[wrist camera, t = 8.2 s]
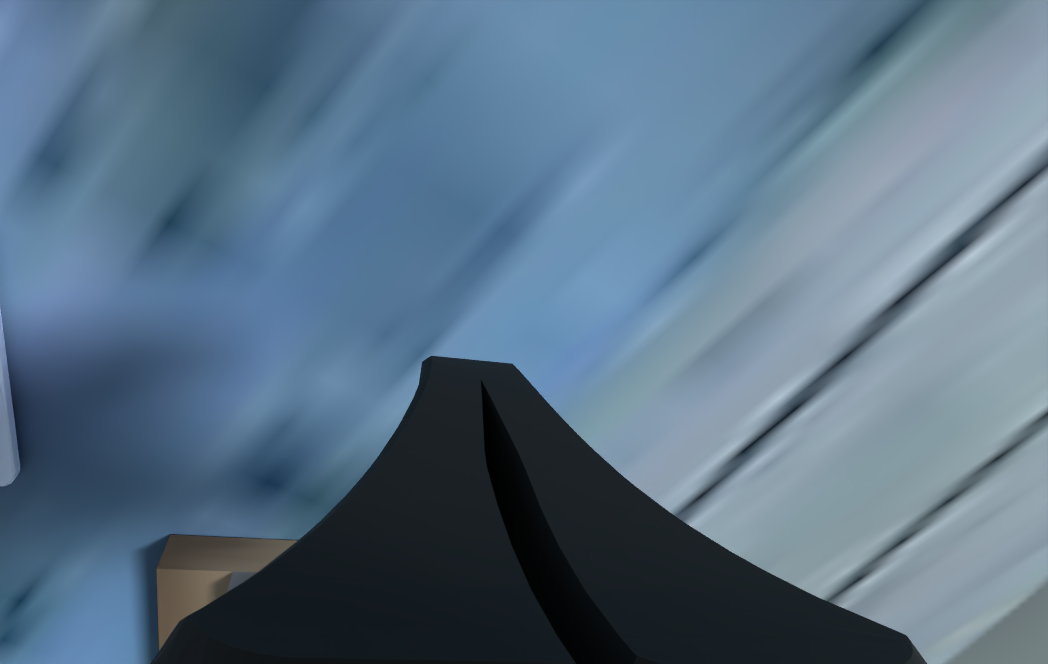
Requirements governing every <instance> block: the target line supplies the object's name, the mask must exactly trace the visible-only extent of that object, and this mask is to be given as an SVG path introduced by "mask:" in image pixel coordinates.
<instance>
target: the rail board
mask: <svg viewBox="0 0 1048 664" xmlns="http://www.w3.org/2000/svg"><path fill="white" fill-rule="evenodd" d="M296 542H297V541H296V540H275V539H254V538H232V537H211V536H190V535H170V537H169V539H168V541H167V544H166V546H165V549H164V551H163V554H162V556H161V559H160V561H159V564H158V566H157V568H156V571H157V601H158V632H159V651H160V649H161V648H162V646H163V645H164V643H165V642H166V640H167V639H168V637H169V635H170V634H171V633H172V631H173V630H174V628H175V627H176V625H177V624H178V622H179V621H180V620H182V619H183V618H185V617H186V616H188V615H190V614H192V613H194V612H195V611H197V610H199V609H201V608H203V607H204V606H206V605H207V604H209V603H211V602H212V601H214V600H215V599H217V598H219V597H220V596H222V595H223V594H225V593H227V592H228V591H230V590H231V589H233V588H235V587H236V586H238V585H239V584H241V583H243V582H244V581H246V580H247V579H249V578H250V577H251V576H253V575H254V574H256V573H257V572H259V571H260V570H261V569H262V568H264V567H265V566H266V565H268V564H269V563H270V562H271V561H273V560H274V559H275V558H276V557H278V556H279V555H280V554H282V553H283V552H284V551H285V550H287V549H288V548H289V547H290V546H292V545H293V544H294V543H296Z"/></svg>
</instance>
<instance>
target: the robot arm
mask: <svg viewBox="0 0 1048 664" xmlns="http://www.w3.org/2000/svg"><path fill="white" fill-rule="evenodd" d="M19 473H20V460H19V452H18V445H17V437H16V429H15V421H14V413H13V405H12V397H11V389H10V381H9V373H8V365H7V357H6V349H5V341H4V333H3V325H2V317H1V309H0V487H1V486H7V485H9V484H11V483H12V482H13V481H14V480H15V478H16V477H17V476H18V474H19ZM151 664H927V663H926V662H925V660H924V659H923V657H922V656H921V655H920V653H919V652H918V650H917V649H916V648H915V646H914V645H913V644H912V642H911V641H910V639H909V638H908V637H907V636H906V635H905V634H902V633H900V632H897V631H895V630H893V629H890V628H888V627H886V626H883V625H881V624H879V623H876V622H874V621H872V620H869V619H867V618H865V617H862V616H860V615H858V614H855V613H853V612H851V611H848V610H846V609H844V608H841V607H839V606H837V605H834V604H832V603H830V602H827V601H825V600H823V599H820V598H818V597H816V596H814V595H812V594H810V593H808V592H806V591H804V590H802V589H800V588H798V587H796V586H794V585H792V584H790V583H788V582H786V581H784V580H782V579H780V578H778V577H776V576H774V575H772V574H770V573H768V572H766V571H764V570H762V569H761V568H759V567H757V566H755V565H753V564H752V563H750V562H748V561H746V560H745V559H743V558H741V557H739V556H737V555H736V554H734V553H732V552H730V551H729V550H727V549H726V548H724V547H722V546H721V545H719V544H718V543H716V542H714V541H713V540H711V539H709V538H708V537H706V536H705V535H703V534H701V533H700V532H698V531H697V530H695V529H693V528H692V527H690V526H689V525H687V524H686V523H684V522H683V521H681V520H680V519H679V518H677V517H676V516H674V515H673V514H671V513H670V512H668V511H667V510H666V509H664V508H663V507H662V506H660V505H659V504H658V503H657V502H655V501H654V500H653V499H651V498H650V497H649V496H647V495H646V494H645V493H643V492H642V491H641V490H639V489H638V488H637V487H635V486H634V485H633V484H632V483H631V482H629V481H628V480H627V479H626V478H624V477H623V476H622V475H621V474H620V473H619V472H617V471H616V470H615V469H614V468H613V467H612V466H611V465H610V464H609V463H607V462H606V461H605V460H604V459H603V458H602V457H601V456H600V455H599V454H598V453H596V452H595V451H594V450H593V449H592V448H591V447H590V446H589V445H588V444H587V443H586V442H585V441H584V440H583V439H582V438H581V437H580V436H579V435H578V434H577V433H576V432H575V431H574V430H573V429H572V428H571V427H570V426H569V425H568V424H567V423H566V422H565V421H564V420H563V419H562V418H561V417H560V416H559V414H558V413H557V412H556V411H555V410H554V409H553V408H552V407H551V406H550V405H549V404H548V402H547V401H546V400H545V399H544V398H543V397H542V396H541V395H540V394H539V392H538V391H537V390H536V389H535V388H534V387H533V386H532V385H531V383H530V382H529V381H528V380H527V379H526V378H525V377H524V375H523V374H522V373H521V372H520V371H519V370H518V369H517V368H516V367H515V366H514V365H513V364H509V363H499V362H489V361H479V360H469V359H458V358H448V357H438V356H430V357H429V358H427V359H426V360H424V361H423V362H422V367H421V374H420V381H419V386H418V388H417V391H416V393H415V396H414V398H413V400H412V402H411V404H410V406H409V408H408V410H407V411H406V413H405V415H404V417H403V419H402V421H401V423H400V424H399V426H398V428H397V429H396V431H395V432H394V434H393V435H392V437H391V438H390V440H389V441H388V443H387V444H386V446H385V447H384V449H383V450H382V452H381V453H380V455H379V456H378V458H377V459H376V460H375V462H374V463H373V464H372V465H371V467H370V468H369V469H368V471H367V472H366V473H365V474H364V475H363V477H362V478H361V479H360V480H359V481H358V482H357V484H356V485H355V486H354V487H353V488H352V489H351V491H350V492H349V493H348V494H347V495H346V496H345V497H344V498H343V499H342V500H341V501H340V502H339V503H338V504H337V505H336V506H335V507H334V508H333V509H332V510H331V511H330V512H329V513H328V514H327V515H326V516H325V517H324V518H323V519H322V520H321V521H320V522H319V523H318V524H317V525H316V526H314V527H313V528H312V529H311V530H310V531H309V532H308V533H307V534H305V535H304V536H303V537H302V538H301V539H299V540H298V541H297V542H296V543H294V544H293V545H292V546H290V547H289V548H288V549H287V550H285V551H284V552H283V553H282V554H280V555H279V556H278V557H276V558H275V559H274V560H273V561H271V562H270V563H269V564H268V565H266V566H265V567H264V568H262V569H261V570H260V571H259V572H257V573H256V574H254V575H253V576H251V577H250V578H249V579H247V580H246V581H244V582H243V583H241V584H239V585H238V586H236V587H235V588H233V589H231V590H230V591H228V592H227V593H225V594H223V595H222V596H220V597H219V598H217V599H215V600H214V601H212V602H211V603H209V604H207V605H206V606H204V607H203V608H201V609H199V610H197V611H195V612H194V613H192V614H190V615H188V616H186V617H185V618H183V619H182V620H180V621H179V622H178V624H177V625H176V627H175V628H174V630H173V631H172V633H171V634H170V635H169V637H168V639H167V640H166V642H165V643H164V645H163V646H162V648H161V649H160V651H159V652H158V654H157V655H156V657H155V658H154V660H153V661H152V663H151Z"/></svg>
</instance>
